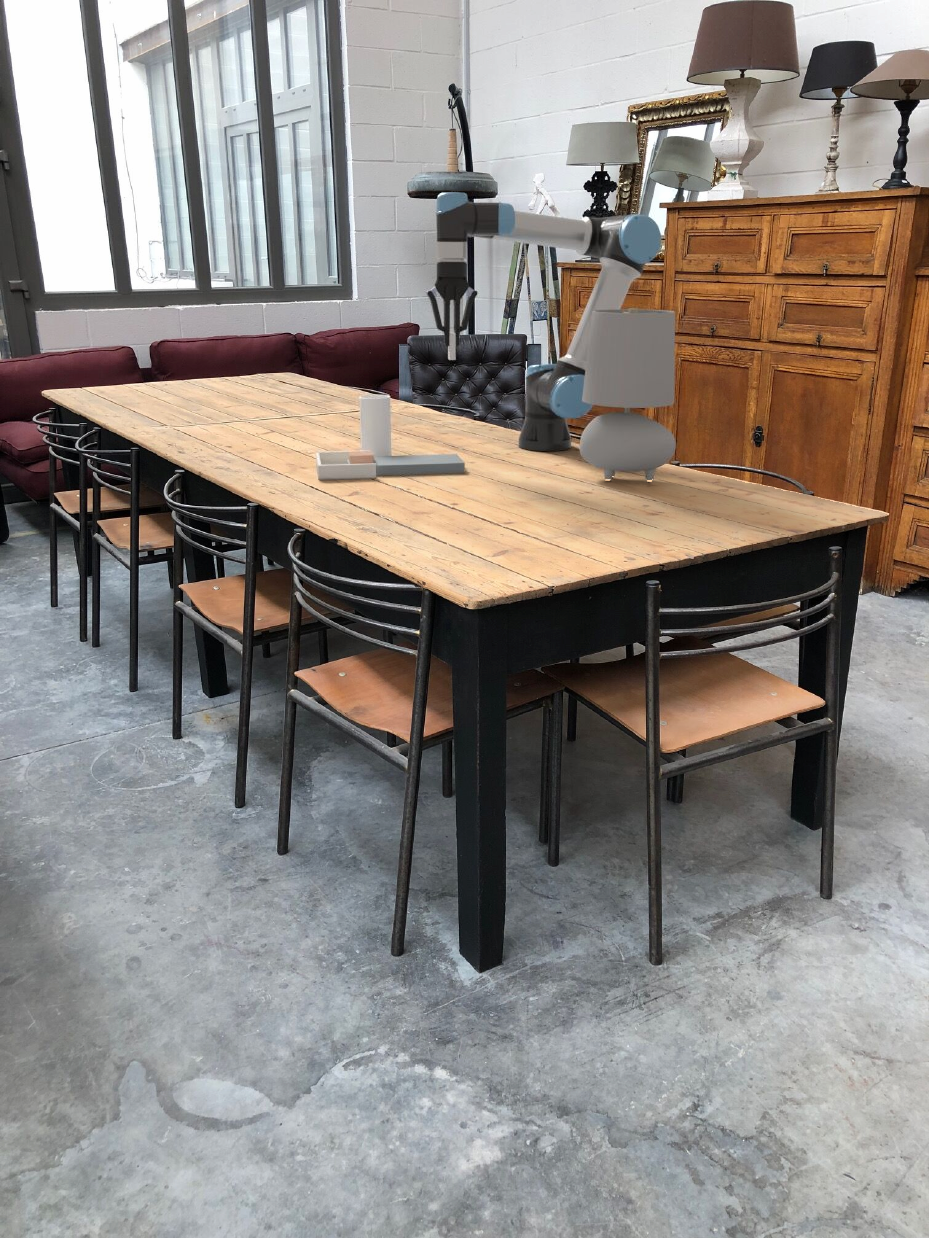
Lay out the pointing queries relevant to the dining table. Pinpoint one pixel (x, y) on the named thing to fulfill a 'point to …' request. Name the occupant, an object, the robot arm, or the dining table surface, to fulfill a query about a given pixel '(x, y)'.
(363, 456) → the terracotta tile
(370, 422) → the cup
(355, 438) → the dining table surface
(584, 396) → the table lamp
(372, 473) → the box
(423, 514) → the dining table surface
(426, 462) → the board
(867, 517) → the dining table surface
